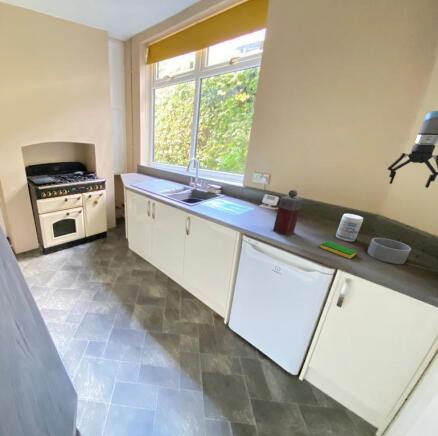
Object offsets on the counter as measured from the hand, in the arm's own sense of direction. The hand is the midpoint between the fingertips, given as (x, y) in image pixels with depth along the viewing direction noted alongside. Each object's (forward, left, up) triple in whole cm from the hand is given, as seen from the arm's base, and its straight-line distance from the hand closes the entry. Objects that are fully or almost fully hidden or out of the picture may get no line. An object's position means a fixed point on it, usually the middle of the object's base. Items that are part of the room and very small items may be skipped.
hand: (407, 185), depth 127 cm
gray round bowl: (+1, +22, -35) cm, 41 cm away
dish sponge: (+21, +32, -35) cm, 52 cm away
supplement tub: (+18, +8, -35) cm, 40 cm away
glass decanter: (+49, +22, -35) cm, 64 cm away
